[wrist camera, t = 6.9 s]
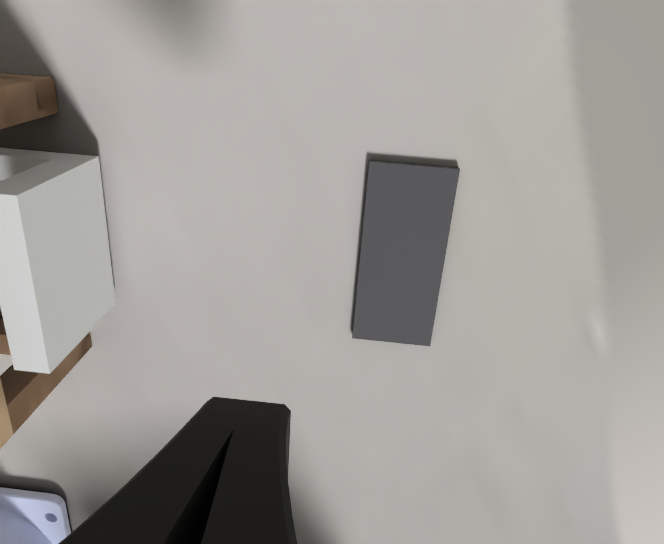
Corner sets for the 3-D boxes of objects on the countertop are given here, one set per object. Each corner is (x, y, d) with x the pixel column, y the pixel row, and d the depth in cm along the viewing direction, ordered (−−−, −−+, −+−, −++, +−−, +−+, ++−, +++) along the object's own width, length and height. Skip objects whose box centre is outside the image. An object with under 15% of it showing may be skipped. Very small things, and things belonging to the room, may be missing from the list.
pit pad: (429, 342, 18) (430, 346, 18) (352, 334, 19) (352, 338, 18) (458, 167, 16) (459, 169, 16) (369, 159, 16) (369, 161, 16)
